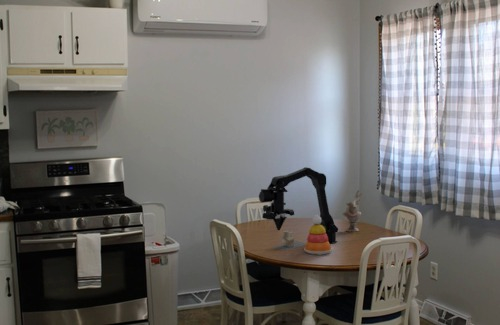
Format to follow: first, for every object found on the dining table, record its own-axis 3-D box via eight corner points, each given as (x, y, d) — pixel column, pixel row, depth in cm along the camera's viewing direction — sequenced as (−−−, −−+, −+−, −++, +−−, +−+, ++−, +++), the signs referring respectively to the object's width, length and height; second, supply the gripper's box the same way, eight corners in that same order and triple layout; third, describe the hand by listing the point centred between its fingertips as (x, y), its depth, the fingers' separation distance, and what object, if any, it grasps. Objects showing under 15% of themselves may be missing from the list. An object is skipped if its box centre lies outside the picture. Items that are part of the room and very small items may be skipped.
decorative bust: (354, 232, 324) (354, 190, 326) (340, 231, 335) (340, 190, 337) (368, 232, 330) (367, 190, 332) (354, 231, 341) (353, 190, 343)
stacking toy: (337, 252, 283) (337, 214, 282) (321, 257, 273) (321, 218, 271) (314, 247, 293) (314, 211, 291) (298, 252, 282) (298, 215, 280)
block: (293, 246, 294) (293, 231, 294) (289, 247, 292) (289, 232, 291) (287, 245, 298) (287, 230, 297) (282, 246, 296) (282, 231, 295)
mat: (310, 244, 300) (310, 244, 300) (285, 250, 286) (285, 250, 286) (296, 241, 307) (296, 241, 307) (271, 247, 294) (271, 247, 294)
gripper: (279, 197, 300) (279, 225, 301) (255, 201, 287) (255, 230, 289) (294, 199, 292) (294, 228, 293) (270, 203, 279) (270, 233, 281)
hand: (278, 230), depth 289 cm, fingers closed
